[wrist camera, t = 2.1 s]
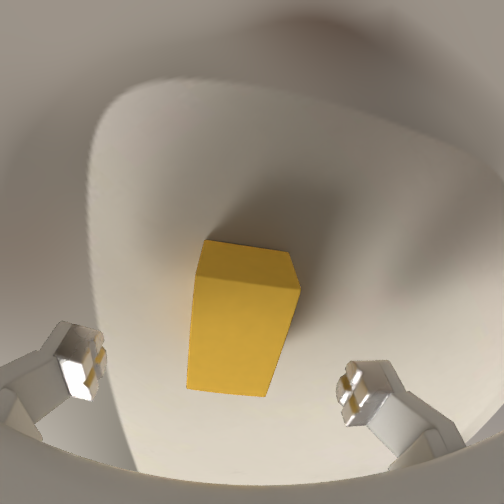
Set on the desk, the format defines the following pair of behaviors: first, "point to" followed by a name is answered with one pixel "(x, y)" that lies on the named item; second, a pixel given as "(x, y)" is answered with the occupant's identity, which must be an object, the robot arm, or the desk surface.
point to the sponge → (239, 317)
